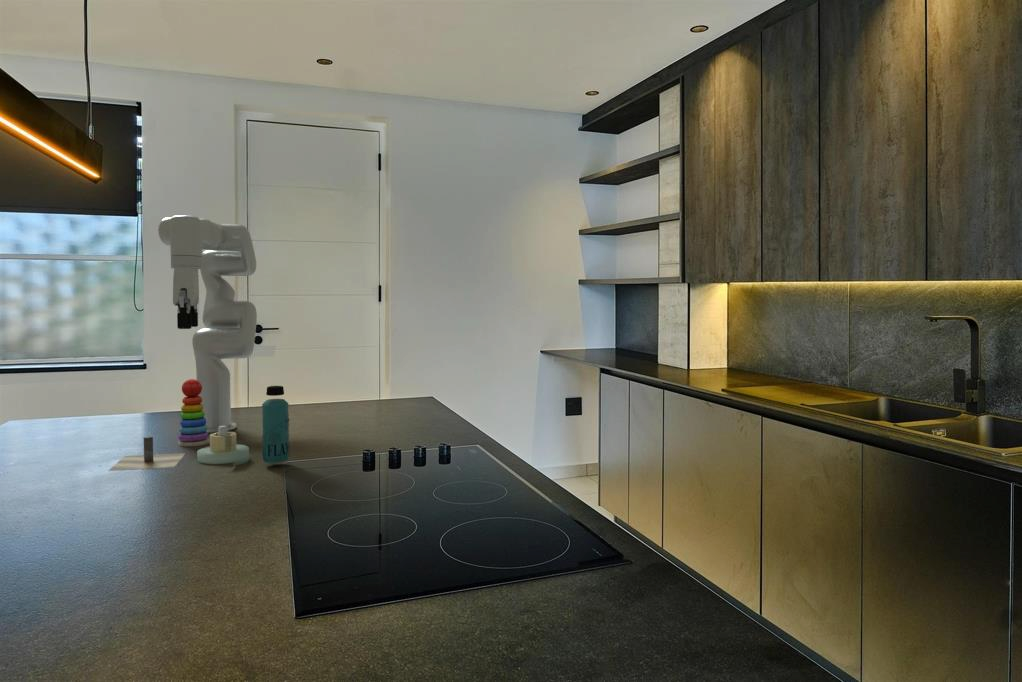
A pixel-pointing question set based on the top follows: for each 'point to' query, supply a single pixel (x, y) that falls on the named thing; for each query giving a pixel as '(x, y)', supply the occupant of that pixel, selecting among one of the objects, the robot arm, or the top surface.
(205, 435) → the stacking toy
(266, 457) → the beverage bottle
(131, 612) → the top surface
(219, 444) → the brass ring
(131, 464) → the oak stand
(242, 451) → the sage hub
